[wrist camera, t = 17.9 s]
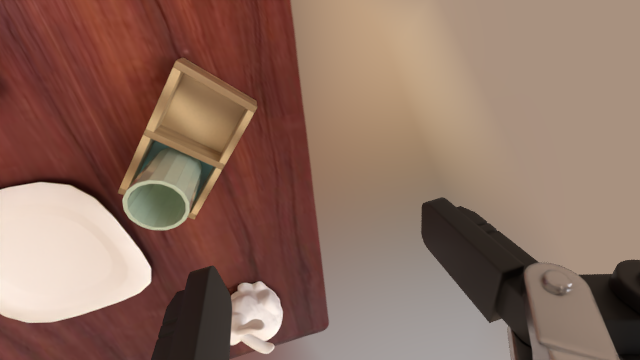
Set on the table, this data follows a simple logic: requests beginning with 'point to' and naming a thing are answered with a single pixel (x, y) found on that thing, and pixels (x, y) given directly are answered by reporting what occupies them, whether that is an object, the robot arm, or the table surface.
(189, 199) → the cup
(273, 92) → the table surface
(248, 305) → the rabbit
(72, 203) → the plate
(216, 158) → the holder
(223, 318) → the robot arm
